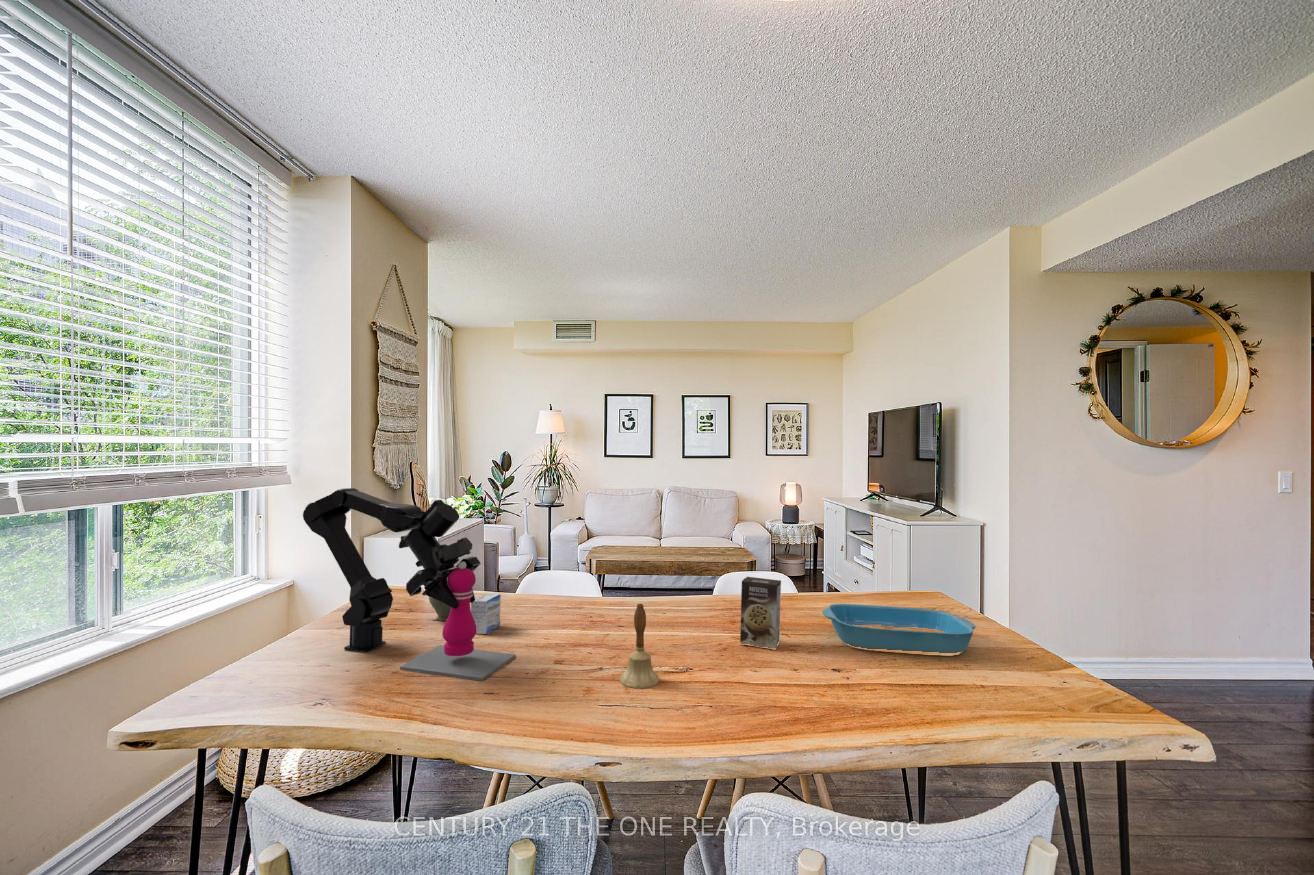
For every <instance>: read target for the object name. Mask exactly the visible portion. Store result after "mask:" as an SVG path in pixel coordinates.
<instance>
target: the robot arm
mask: <svg viewBox="0 0 1314 875" xmlns="http://www.w3.org/2000/svg"><path fill="white" fill-rule="evenodd" d="M351 510H353V511H357V512H359V513H361V514H364V515H367V516H370V517H372V518H376V519H377V520H378V521H380V523H381V525H382V526H383V527H385V528H386V529H388V530H390V531H391V532H393V533H401V532H406V531H409V532H408V533H407V534H406V535H401V536H400V541H399V543H398V549H403V548H409V549H410V551H411V552H412V554H413V555H414V556H415V558H416V560H417V561H416V562H415V566H416V567H417V568H420V567H422V568H423V569H419V570H417V572H416V573H415V574H414V575H413V576H412V577H411V578H410V579H409V580H408V581H407V582H406V584H405V585H406V586H405V590H406V592H407V593H408V595H409V596H410V597H413V596H416V595H419V594H421V592H422V588H423V587H424V589H425V590H424V591H423V592H422V594H421V595H422V596H428V598H429V597H432V598H434V599H436V600H438V601H440V602H442V603H444V604H446V605H448V606H450V607H452V608H454V609H457V608H458V607H459V604H458V602H457V600H456V598H455V596H454V595H453V593H452V591H451V590H450V588H449V586H448V584H447V579H448V576H449V574H450V573H451V572H452V571H454V570H456V569H459V568H458V564H459V563H460V562H465V563H466V568H467V569H470V570H471V571H473V572H474V571H475V570H476V569H477V568H478V567H479V566H480V565H481V564H482V563H481V562H480V560H479V559H478V557H477V556H473V555H472V556H469V557H465V558H462V559H461V560H460V559H459V558H461V557H463V556H466V555H467V556H468V555H470V554H472V553H471V552H472V551H471V550H473V543H472V542H471V540H469V538H468V537H462V538H461V539H457V540H456V542H453V543H451V544H446V543H444V544H441V543H440V542H439V540H438V539H437V538H442V537H444V536H445V534H446V533H447V532H448V531H449V530H450V529H451V528H452V527H453V526H454V525H455V524H456V522H457V521H459V519H460V515H459V512H458V510H457V509H456V508H454V507H452V506H451V505H450V504H448V503H444V501H443V500H442V499H436V500H434V501H433V502H432V503H431V505H430V506H429V507H428V509H427V510H426V511H424V510H422V508H421V507H420V506H418V505H415V504H408V503H407V504H406V503H395V502H390V501H387V500H384V499H381V498H379V497H377V496H373V495H372V494H371V495H370V494H368V493H365V492H364V491H363V492H362V491H360V490H358V489H357V488H354V487H349V488H339V489H337V490H335V491H333V492H332V493H330V494H328V495H326V496H323V497H322V498H320V499H317V500H316V501H314V502H309V503H308V504H307V505H306V506H305V508H304V510H303V512H302V518H303V521H304V522H305V525H307V526H308V528H309V529H310V531H311V532H313V533H315V534H316V535H318V536H319V537H321V538H322V539H324V541H325V542H326V545H327V547H328V549H329V550H330V552H331V554H332V556H333V558H334V560H335V561H336V563H337V565H338V567H339V568H340V570H341V572H342V574H343V576H344V578H345V579H346V582H347V584H348V585H349V587H350V591H349V600H348V601H349V603H350V606H349V608H348V609H347V610H346V611H345V613H343V615H342V616H341V617H342V621H343V625H344V626H349V644H348V645H346V646H344V648H343V649H344V650H345V651H352V652H353V651H355V652H362V653H368V652H370V651H372V650H375V649H377V648H379V647H381V646H383V645H385V644H386V643H387V642H386V640H383V629H384V628H383V626H382V624H383V623H382V619H384V618H387V617H388V616H389V613H390V611H391V610H390V609H391V607H392V606H393V601H394V597H393V595H392V592H393V589H391V588H390V587H389V585H388V582H387V580H386V579H385V578H384V577H381V578H378V579H377V578H375V577H373V576H372V575H371V572H370V570H369V569H368V567H367V565H366V564H365V561H364V560H363V558H362V556H361V554H360V553H359V550H358V549H357V547H356V546H355V543H354V542H353V540H352V538H351V537H350V535H349V533H348V531H347V528H346V525H347V515H346V514H347V513H349V512H351ZM455 564H457V565H456V566H455ZM422 586H423V587H422ZM472 590H473V592H472V594H473V596H472V597H471V599H470V604H471V603H473V602H474V601H475V599H476V597H475V594H474V589H473V588H472Z"/></svg>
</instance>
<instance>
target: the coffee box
mask: <svg viewBox="0 0 1314 875" xmlns="http://www.w3.org/2000/svg"><path fill="white" fill-rule="evenodd" d="M781 592H782V581H781V580H780V579H770V578H763V577H761V578H760V577H754V576H746V577H745V578H744V579H742V580H741V593H740V594H741V599H740V602H741V604H740V633H739V634H740V636H739V637H740V638H739V644H740V643H741V644H750V645H754V646H759V647H768V648H776V647H777V644H778V642H780V630H781V629H780V627H781V626H780V624H781V618H780V617H781V595H782V594H781ZM777 648H778V647H777ZM777 648H776V649H777Z"/></svg>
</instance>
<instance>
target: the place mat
mask: <svg viewBox="0 0 1314 875" xmlns="http://www.w3.org/2000/svg"><path fill="white" fill-rule="evenodd" d="M444 645H445V644H440V645H437V646H436V647H434V648H432V649H430V650H428V651H426V652H425V653H423V654H420V655H419V656H417V657H415V658H413V659H412V660H410V661H408V662H405V663H404V664H402V665H400V666H399V671H400V670H401V671H406V672H407V671H409V672H416V673H423V674H430V675H438V676H444V677H451V678H458V679H459V678H460V679H464V680H465V679H466V680H473V681H481V682H482V681H484V680H485V679H487V678H488V677H490V676H491V675H493V674H494V673H495V672H496V671H498V670H499V669H501V668H502V667H504V666H505V665H506V664H508V663H509V662H511V661H512V660H513V659H515V658H516V655H517V654H516V653H508V652H500V651H493V650H492V651H491V650H484V649H474V650H473V652H471V653H470V654H467V655H463V656H448V655H446V654H445V653H444Z"/></svg>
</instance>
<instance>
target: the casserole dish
mask: <svg viewBox="0 0 1314 875" xmlns="http://www.w3.org/2000/svg"><path fill="white" fill-rule="evenodd" d="M822 614H823V616H824V617H825V618H827V619H829V620H830V621H831V623H832V627H833V629H834V630H835V633H836V634H837V636H838V637H839V639H840V640H841V641H842V642H843V643H844V644H845V643H846V644H849V645H851V646H854V647H861V648H867V649H887V650H902V651H922V652H939V653H957V652H962V651H964V652H965V651H966V650H967V649H968V648H969V647H968V646H969V644H970V643H971V642H970V641H971V639H972V637H973V634H974V630H975V629H976V625H975V624H974V623H973V622H972V621H969V620H968V619H965V618H963V617H960V616H957V615H953V614H951V613H949V612H946V611H943V610H942V611H941V610H935V609H928V608H917V607H916V608H915V607H904V606H890V605H887V606H886V605H873V604H872V605H871V604H861V603H860V604H856V603H833V604H830V605H829V606H828V607H827V608H824V609H823V610H822ZM853 624H854V625H881V626H893V627H918V628H926V629H927V628H928V629H937V630H939V631H944V632H945V633H938V632H923V631H908V630H892V629H879V628H869V627H861V626H854V625H853ZM846 644H845V645H846Z"/></svg>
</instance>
